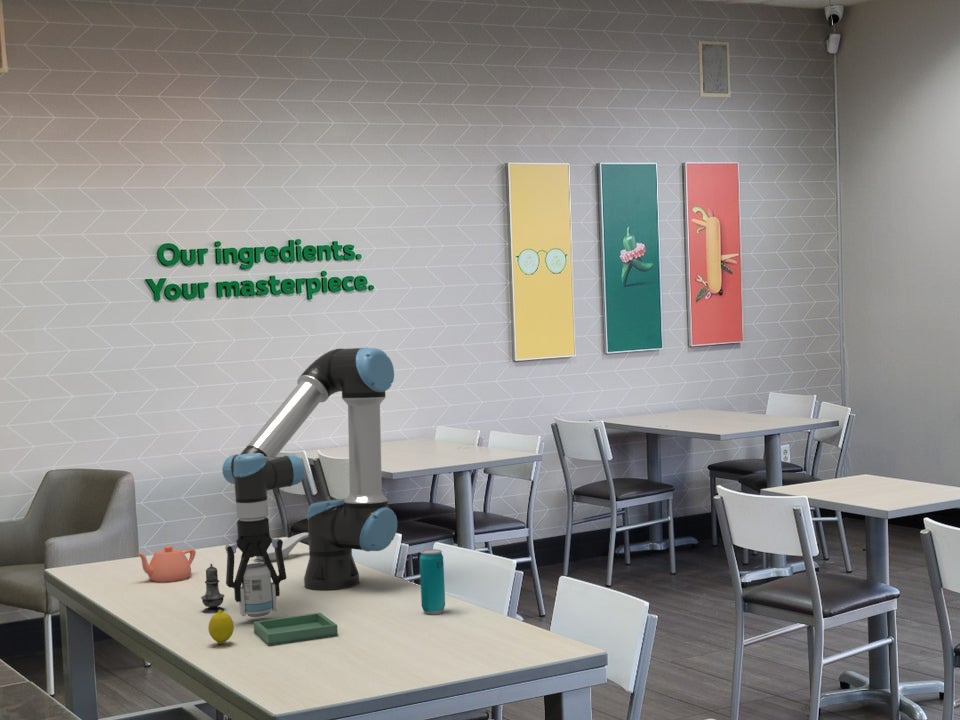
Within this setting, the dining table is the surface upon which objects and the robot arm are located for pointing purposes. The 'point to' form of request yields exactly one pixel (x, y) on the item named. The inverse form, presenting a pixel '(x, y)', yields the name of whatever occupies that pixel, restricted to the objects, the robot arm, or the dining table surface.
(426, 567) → the beverage can
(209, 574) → the salt shaker
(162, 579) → the teapot
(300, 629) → the tray
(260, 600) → the beverage can
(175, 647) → the dining table surface
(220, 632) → the fruit
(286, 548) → the spoon rest
